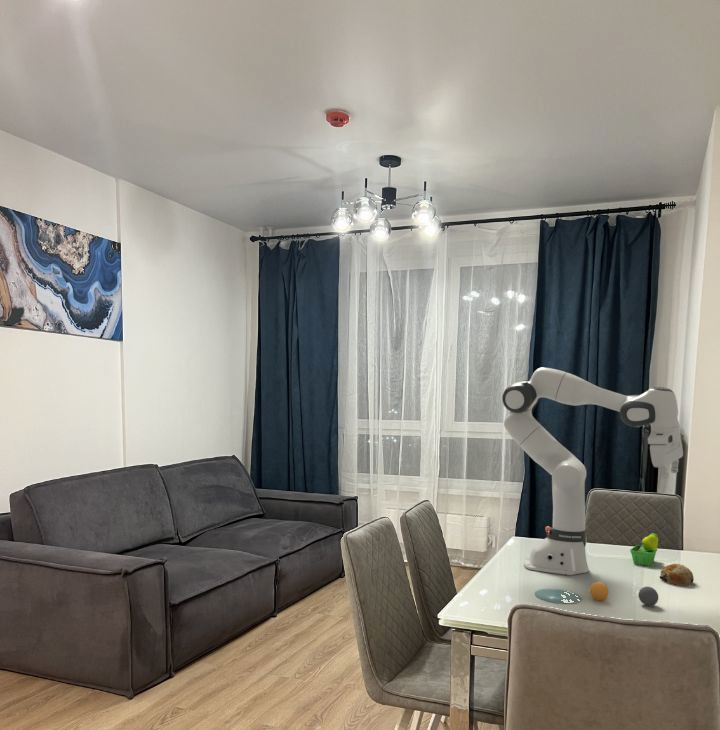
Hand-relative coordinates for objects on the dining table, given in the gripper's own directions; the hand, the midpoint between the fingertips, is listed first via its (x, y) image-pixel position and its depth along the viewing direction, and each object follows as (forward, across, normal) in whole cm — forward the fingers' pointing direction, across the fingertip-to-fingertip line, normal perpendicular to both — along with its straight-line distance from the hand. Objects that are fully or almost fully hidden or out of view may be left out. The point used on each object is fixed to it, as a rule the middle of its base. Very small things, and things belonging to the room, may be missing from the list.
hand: (670, 475), depth 224 cm
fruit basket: (+38, -18, -18) cm, 46 cm away
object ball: (+28, +40, -11) cm, 50 cm away
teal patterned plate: (+29, +46, -21) cm, 58 cm away
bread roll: (+37, 0, -1) cm, 37 cm away
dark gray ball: (+30, +33, +2) cm, 44 cm away
